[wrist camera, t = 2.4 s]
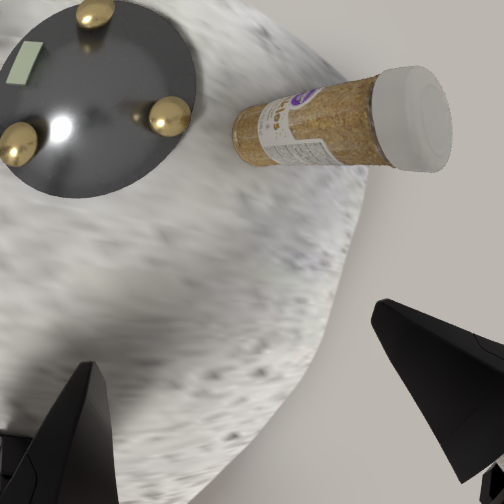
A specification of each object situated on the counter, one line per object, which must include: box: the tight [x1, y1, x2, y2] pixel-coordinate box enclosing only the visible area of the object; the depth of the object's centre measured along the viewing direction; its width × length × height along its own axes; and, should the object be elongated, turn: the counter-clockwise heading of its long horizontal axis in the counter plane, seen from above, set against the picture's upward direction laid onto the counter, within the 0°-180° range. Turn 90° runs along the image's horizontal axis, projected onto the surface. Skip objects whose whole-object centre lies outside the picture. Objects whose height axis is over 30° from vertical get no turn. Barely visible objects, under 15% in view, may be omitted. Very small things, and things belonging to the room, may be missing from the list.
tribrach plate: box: [0, 0, 196, 198], centre depth 13 cm, size 13×13×2 cm
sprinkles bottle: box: [232, 66, 452, 173], centre depth 15 cm, size 5×5×13 cm
